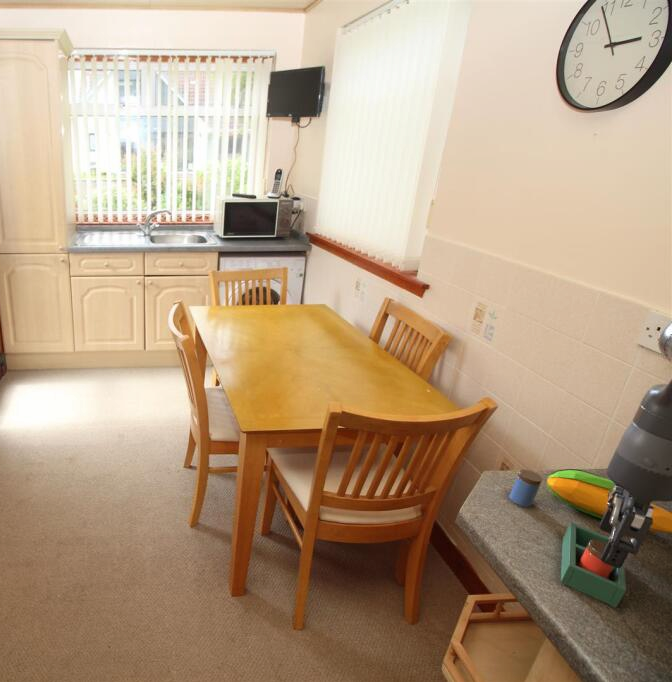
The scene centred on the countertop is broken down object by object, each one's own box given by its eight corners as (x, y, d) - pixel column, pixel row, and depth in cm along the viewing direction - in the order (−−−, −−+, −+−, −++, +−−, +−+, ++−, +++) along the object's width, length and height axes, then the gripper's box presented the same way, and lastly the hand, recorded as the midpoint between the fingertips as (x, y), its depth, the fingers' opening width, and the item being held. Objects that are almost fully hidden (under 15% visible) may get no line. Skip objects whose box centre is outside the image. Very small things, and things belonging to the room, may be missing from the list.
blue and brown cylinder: (532, 500, 92) (543, 474, 90) (530, 509, 90) (542, 484, 87) (510, 491, 94) (520, 466, 92) (508, 500, 92) (518, 475, 89)
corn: (556, 452, 94) (700, 500, 82) (542, 482, 97) (679, 532, 85) (553, 471, 89) (706, 525, 77) (539, 502, 92) (684, 558, 80)
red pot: (603, 576, 75) (619, 548, 72) (604, 591, 72) (620, 562, 70) (574, 564, 77) (589, 535, 74) (574, 578, 74) (589, 549, 72)
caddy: (612, 558, 79) (621, 542, 78) (616, 607, 70) (626, 590, 69) (562, 537, 83) (570, 522, 82) (560, 582, 74) (569, 565, 73)
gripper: (701, 495, 58) (646, 591, 64) (684, 446, 69) (638, 533, 75) (620, 470, 63) (576, 561, 69) (615, 427, 73) (577, 510, 79)
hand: (608, 546), depth 72 cm, fingers open, 8 cm apart
